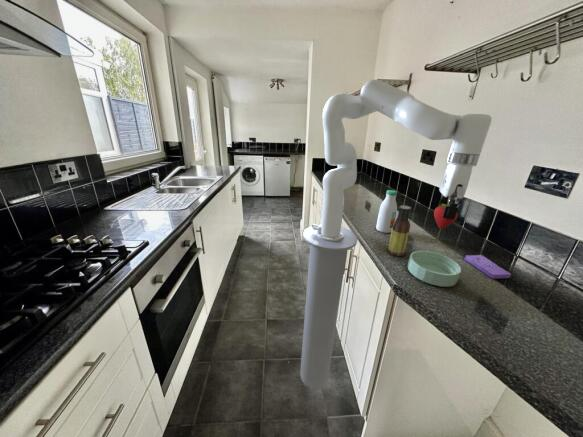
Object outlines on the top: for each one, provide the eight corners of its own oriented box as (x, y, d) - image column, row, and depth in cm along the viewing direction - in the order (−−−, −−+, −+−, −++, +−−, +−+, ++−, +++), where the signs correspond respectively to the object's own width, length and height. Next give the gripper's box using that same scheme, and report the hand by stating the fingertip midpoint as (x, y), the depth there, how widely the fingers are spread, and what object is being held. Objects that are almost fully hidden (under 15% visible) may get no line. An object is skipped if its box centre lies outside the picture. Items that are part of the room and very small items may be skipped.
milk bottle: (383, 234, 110) (392, 193, 103) (372, 228, 117) (379, 189, 109) (395, 232, 113) (404, 192, 106) (384, 226, 120) (391, 188, 112)
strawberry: (441, 224, 81) (450, 197, 78) (457, 233, 74) (467, 204, 71) (425, 224, 81) (433, 196, 77) (440, 233, 74) (449, 203, 70)
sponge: (480, 259, 92) (481, 255, 91) (510, 278, 80) (512, 274, 80) (463, 259, 91) (465, 255, 91) (491, 278, 80) (493, 274, 79)
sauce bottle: (398, 248, 97) (408, 204, 90) (407, 256, 92) (419, 209, 84) (383, 249, 96) (393, 204, 89) (392, 257, 91) (403, 209, 83)
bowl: (409, 280, 77) (412, 268, 75) (405, 258, 90) (408, 247, 88) (462, 293, 72) (467, 280, 70) (450, 267, 85) (454, 256, 83)
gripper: (442, 155, 78) (428, 205, 84) (455, 161, 63) (437, 221, 69) (468, 157, 75) (451, 208, 82) (488, 164, 60) (466, 226, 67)
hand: (445, 214), depth 76 cm, fingers closed on strawberry, 7 cm apart
